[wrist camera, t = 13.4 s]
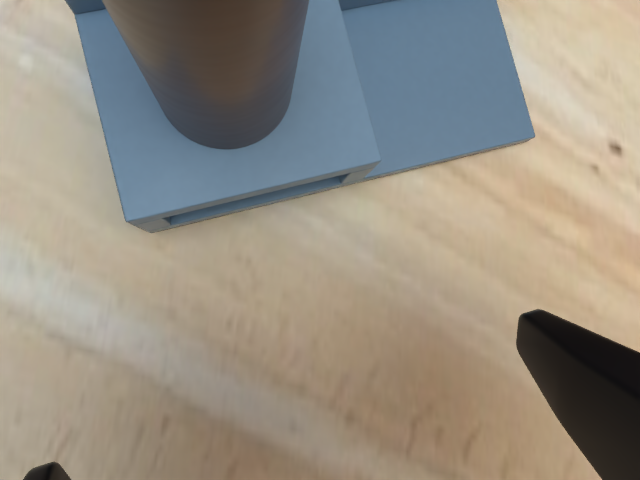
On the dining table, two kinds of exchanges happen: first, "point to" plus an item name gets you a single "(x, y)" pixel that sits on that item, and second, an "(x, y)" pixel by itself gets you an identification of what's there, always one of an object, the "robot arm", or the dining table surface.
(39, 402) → the dining table surface
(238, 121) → the pepper mill
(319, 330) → the dining table surface
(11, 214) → the dining table surface
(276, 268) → the dining table surface
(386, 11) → the riser
